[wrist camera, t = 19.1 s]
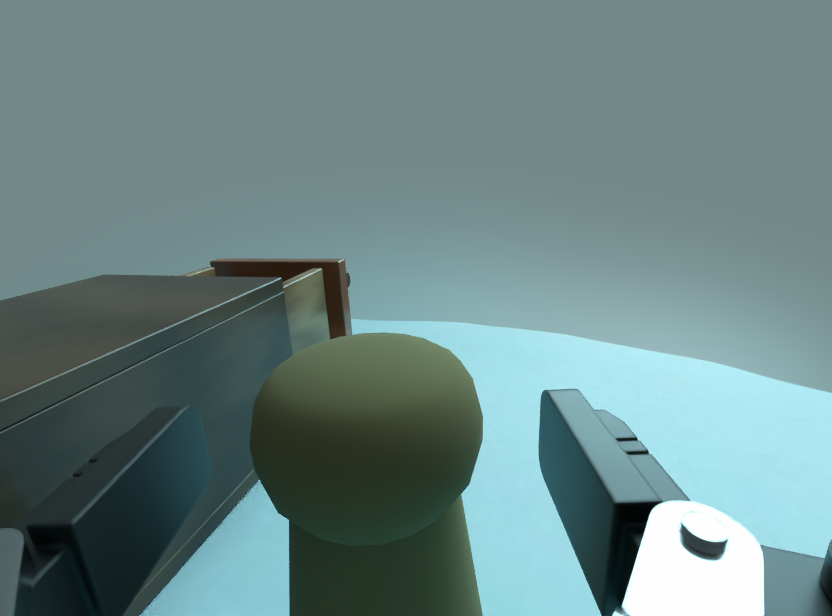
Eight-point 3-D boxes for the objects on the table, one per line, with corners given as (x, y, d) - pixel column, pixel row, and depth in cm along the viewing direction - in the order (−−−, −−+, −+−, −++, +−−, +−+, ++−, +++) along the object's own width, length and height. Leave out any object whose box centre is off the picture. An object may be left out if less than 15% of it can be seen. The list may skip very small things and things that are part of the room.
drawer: (270, 323, 43) (258, 247, 41) (376, 328, 40) (370, 246, 38) (92, 430, 26) (52, 306, 23) (257, 452, 23) (231, 313, 21)
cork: (448, 921, 9) (425, 473, 6) (241, 755, 12) (144, 388, 8) (521, 643, 14) (533, 323, 11) (366, 573, 17) (336, 301, 13)
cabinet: (140, 409, 30) (104, 274, 27) (304, 428, 26) (282, 276, 24) (-183, 609, 16) (-327, 381, 13) (69, 696, 13) (-49, 421, 10)
